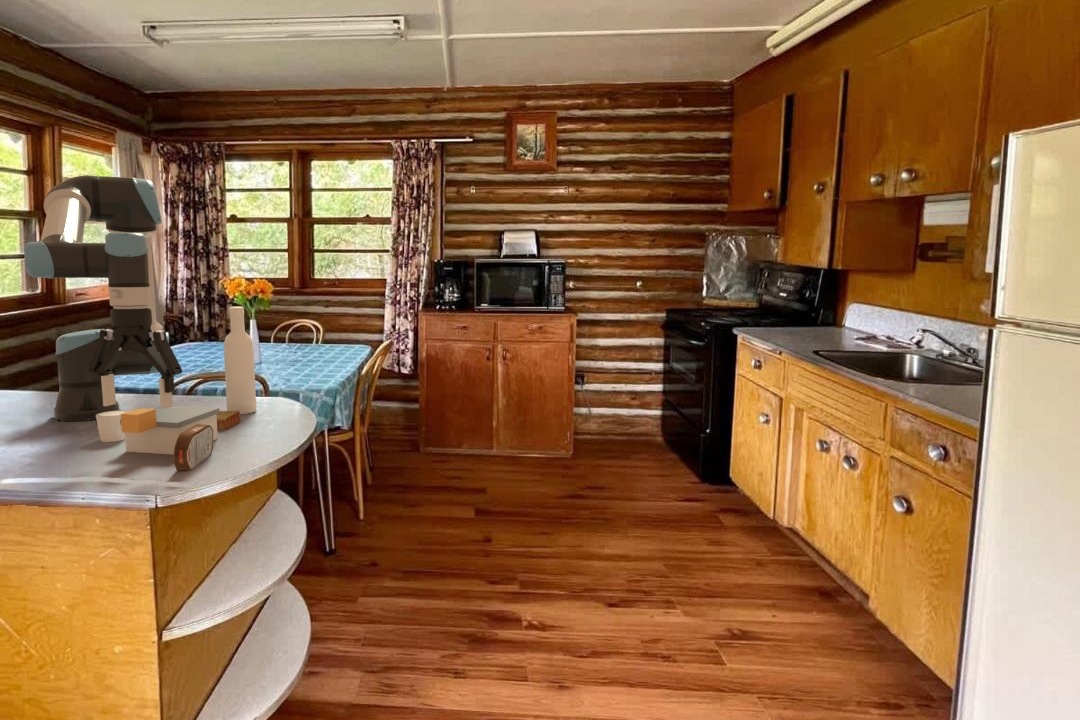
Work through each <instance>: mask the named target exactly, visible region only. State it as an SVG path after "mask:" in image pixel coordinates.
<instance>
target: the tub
mask: <svg viewBox="0 0 1080 720" xmlns="http://www.w3.org/2000/svg"><path fill="white" fill-rule="evenodd" d="M195 424H205V425H210V426H211V427H212V429H213V442H214V441H216V440H218V437H219V435H218V430H217V416H216V414H215V415H213V416H210V417H207V418H204V419H202V420H199V421H196V422H194V423H191V424H188V425H185V426H183V427H180V428H165V427H156V428H153V429H150V430H147V431H144V432H141V433H126V432H125V440H124V443H125V452H127V453H143V454H144V453H145V454H155V455H156V454H157V455H173V456H174V448H175V444H176V441H177V438H178V436H179V435H180V433H182V432H183V431H185V430H187V429H189V428H190V427H192V426H194V425H195Z"/></svg>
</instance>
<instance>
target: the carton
mask: <svg viewBox="0 0 1080 720" xmlns="http://www.w3.org/2000/svg"><path fill="white" fill-rule="evenodd" d="M219 412H220V413H218V414H216V416H217V431H218V430H219V431H220V430H223V431H225V430H226V431H227V430H229V429H230V428H233V427H234V426H236V425H238V424H240V423H241V415H240V412H239V411H227V410H219Z"/></svg>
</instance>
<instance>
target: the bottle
mask: <svg viewBox="0 0 1080 720" xmlns="http://www.w3.org/2000/svg"><path fill="white" fill-rule="evenodd" d="M228 313H229V318H230V319H229V320H230V332H229V333H228V334H227V335H226V336H225V338H224V342H223V360H224V364H223V365H224V376H225V377H224V379H225V397H226V398H225V401H226V404H225V406H226V411H239V412H240V414H242V415H248V414H247V413H250V414H253V413H252V412H254V413H255V412H257V396H256V395H257V394H256V375H255V372H256V371H255V353H254V342H253V339H252V336H250V334H248V333H247V332H246V330H245V310H244V307H243V306H230V307H229V312H228Z"/></svg>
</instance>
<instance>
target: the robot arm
mask: <svg viewBox="0 0 1080 720" xmlns="http://www.w3.org/2000/svg"><path fill="white" fill-rule="evenodd" d="M43 210H44V212H45V215H46V216H45V219H44V220H45V221H44V225H43V230H42V234H41V238H40V240H38V241H29V242H26V243H25V245H24V249H23V250H24V251H23V254H24V255H23V257H24V264H25V269H26V272H27V274H28V275H29V276H30V277H32V278H43V279H45V278H46V279H48V280H50V279H88V278H89V279H90V278H91V279H96V278H98V279H106V278H107V280H108V282H107V285H108V297H109V305H110V306H111V307H113V308H111V309H109V314H110V325H111V326H112V327H113V329H112V328H106V329H105V328H97V329H96V328H95V329H87V330H80V331H74V332H69V333H65V334H62V335H60V336H58V337H57V339H56V340H55V351H56V352H55V354H54V355H56V361H57V362H56V364H57V375H58V385H59V391H58V394H57V398H56V403H55V407H54V408H53V419H54V420H57V421H64V422H81V421H92V420H93V421H94V420H97V419H96V414H98V413H102V412H107V411H121V410H120V404H119V402H118V401H117V399H116V387H115V384H116V383H115V376H119V377H120V376H130V375H131V376H133V375H135V376H136V375H150V374H159V375H160V376H161V377H160V378H158V386H159V387H158V388H159V400H160V401H159V402H160V404H159V405H160V407H161V409H165V408H169V407H172V406H174V403H173V393H174V391H175V376H177V375H180V374H182V373H183V369H182V367H181V365H180V363H179V361H178V359H177V357H176V355H175V353H174V351H173V349H172V347H171V346H170V333H169V332H166V330H165V329H164V327H163V325H162V324H161V323H159V322H158V321H157V314H156V300H155V299H156V298H155V297H156V296H155V283H154V268H153V253H152V238H151V237H152V236H153V235H154V234H155V233H156V232H157V225H161V224H162V223H163V219H162V215H161V211H160V206H159V202H158V197H157V191H156V188H155V183H153V181H151V180H149V179H143V178H138V177H137V178H136V177H127V176H124V177H122V176H121V177H120V176H103V175H102V176H101V175H100V176H99V175H92V174H91V175H90V174H89V175H77V176H73V177H70V178H67V179H65V180H62V181H61V182H58V183H57V184H55V186H53V187H51V189H50V190H48V192H47V193H46V195H45V198H44V201H43ZM86 222H88V223H89V222H94V223H95V222H96V223H105V230H106V231H107V232H108V233H106V234H105V237H104V242H83V241H84V233H85V225H86V224H85V223H86Z"/></svg>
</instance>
